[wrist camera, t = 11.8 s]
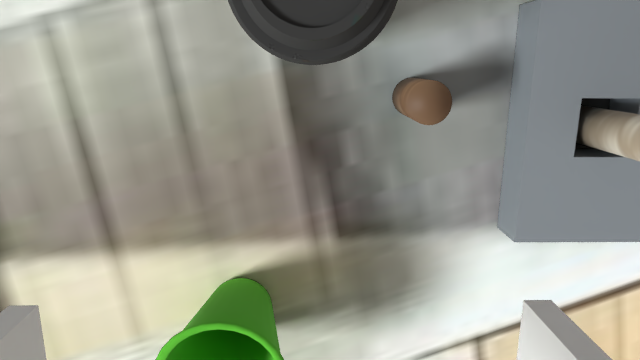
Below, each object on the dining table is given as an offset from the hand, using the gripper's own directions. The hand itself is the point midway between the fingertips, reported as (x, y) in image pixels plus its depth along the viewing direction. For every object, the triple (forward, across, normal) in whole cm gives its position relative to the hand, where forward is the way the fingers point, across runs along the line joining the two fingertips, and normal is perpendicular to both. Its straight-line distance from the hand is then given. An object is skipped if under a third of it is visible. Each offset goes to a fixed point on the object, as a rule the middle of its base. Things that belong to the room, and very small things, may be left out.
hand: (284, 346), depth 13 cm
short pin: (+27, +9, +5) cm, 29 cm away
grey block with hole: (+27, +23, +3) cm, 35 cm away
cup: (+27, -5, -13) cm, 30 cm away
